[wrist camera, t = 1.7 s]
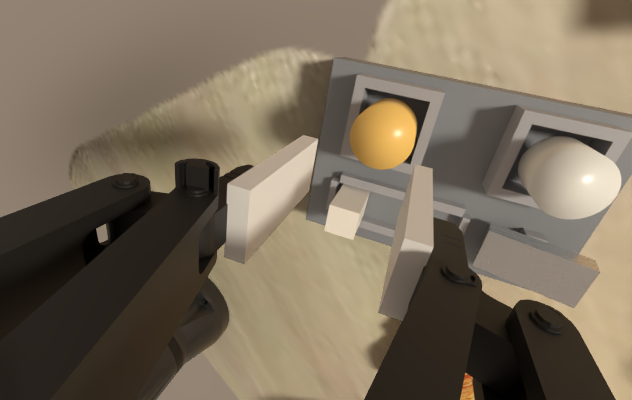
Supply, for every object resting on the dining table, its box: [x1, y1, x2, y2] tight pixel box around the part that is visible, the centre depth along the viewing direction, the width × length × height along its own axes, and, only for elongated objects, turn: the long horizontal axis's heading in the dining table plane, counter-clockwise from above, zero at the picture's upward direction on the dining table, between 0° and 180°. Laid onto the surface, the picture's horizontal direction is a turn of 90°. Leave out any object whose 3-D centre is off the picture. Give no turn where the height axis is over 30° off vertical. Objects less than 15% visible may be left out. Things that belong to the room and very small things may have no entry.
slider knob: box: [324, 184, 370, 240], centre depth 29 cm, size 3×3×5 cm
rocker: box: [472, 223, 600, 308], centre depth 26 cm, size 8×4×2 cm, turn 81°
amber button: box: [350, 98, 417, 170], centre depth 24 cm, size 4×4×4 cm
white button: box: [518, 136, 621, 219], centre depth 21 cm, size 4×4×4 cm
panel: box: [306, 57, 632, 291], centre depth 29 cm, size 24×16×7 cm, turn 81°
